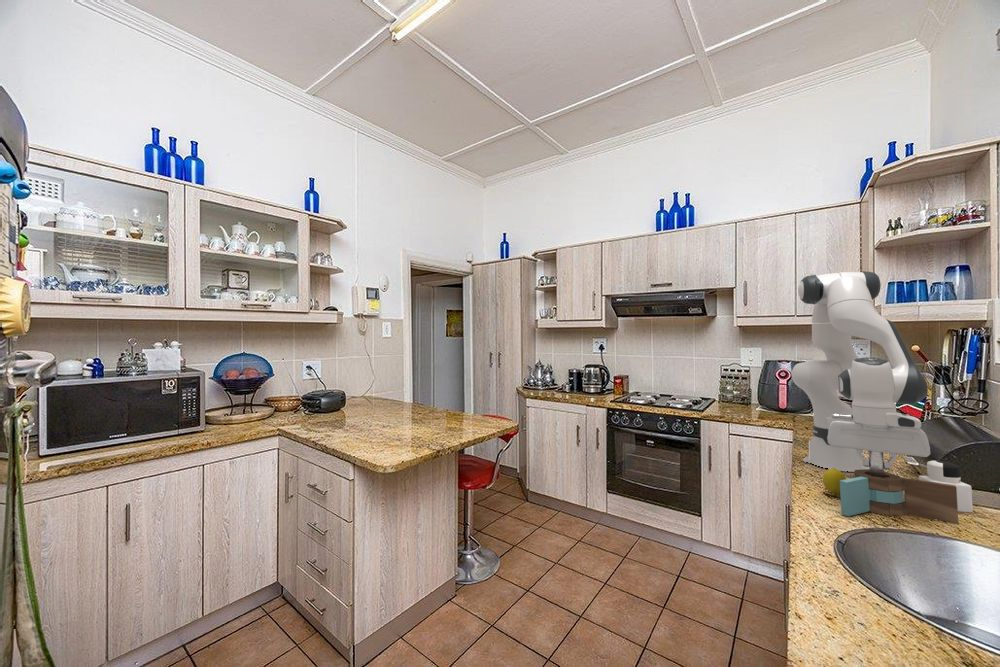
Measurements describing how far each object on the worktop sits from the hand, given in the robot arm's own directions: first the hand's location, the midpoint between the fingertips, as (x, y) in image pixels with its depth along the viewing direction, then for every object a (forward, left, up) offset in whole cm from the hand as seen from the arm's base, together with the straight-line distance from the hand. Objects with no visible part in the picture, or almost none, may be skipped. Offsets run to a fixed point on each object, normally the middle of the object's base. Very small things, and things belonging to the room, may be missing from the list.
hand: (876, 467), depth 107 cm
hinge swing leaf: (+4, -2, -11) cm, 12 cm away
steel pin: (0, 0, -4) cm, 4 cm away
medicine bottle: (-13, +14, -11) cm, 22 cm away
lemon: (-5, -9, -11) cm, 15 cm away
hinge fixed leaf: (0, +5, -11) cm, 12 cm away
